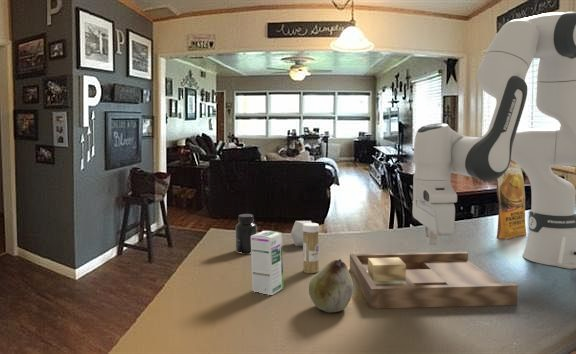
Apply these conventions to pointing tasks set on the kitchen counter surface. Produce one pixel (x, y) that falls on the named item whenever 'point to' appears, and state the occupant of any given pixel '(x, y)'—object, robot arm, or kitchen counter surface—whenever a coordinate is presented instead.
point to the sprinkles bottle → (310, 248)
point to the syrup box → (267, 262)
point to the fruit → (331, 287)
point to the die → (298, 232)
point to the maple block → (386, 269)
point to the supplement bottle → (245, 233)
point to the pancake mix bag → (511, 203)
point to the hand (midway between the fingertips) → (430, 243)
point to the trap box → (432, 282)
